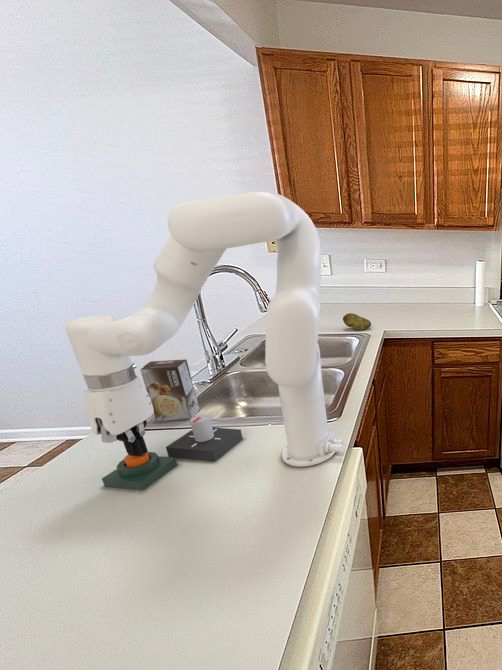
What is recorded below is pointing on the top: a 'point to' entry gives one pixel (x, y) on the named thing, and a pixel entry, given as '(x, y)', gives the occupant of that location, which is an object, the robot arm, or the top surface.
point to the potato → (356, 321)
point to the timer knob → (202, 428)
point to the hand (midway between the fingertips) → (138, 453)
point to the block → (139, 473)
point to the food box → (170, 389)
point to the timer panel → (205, 445)
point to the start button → (136, 460)
